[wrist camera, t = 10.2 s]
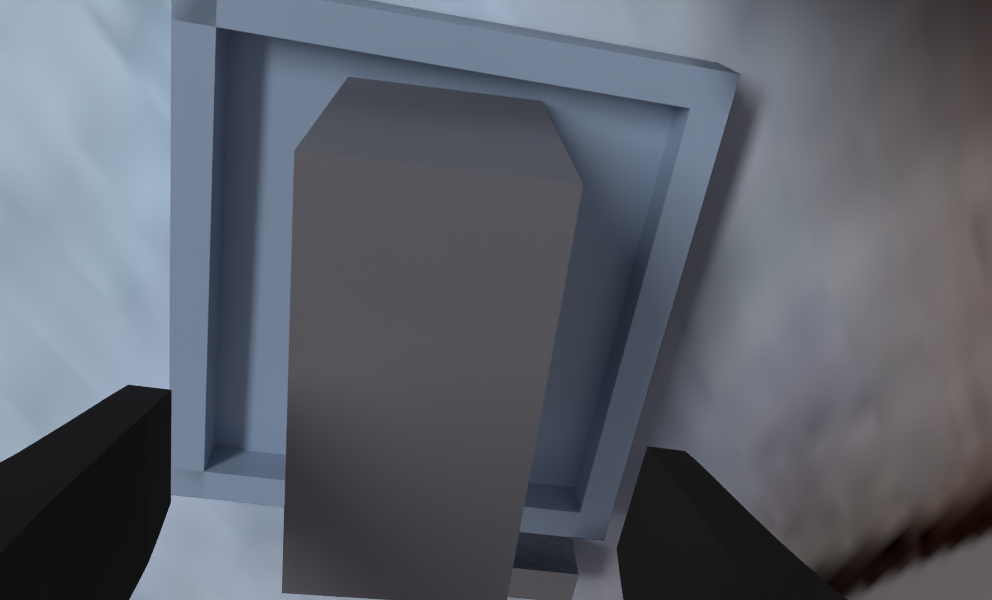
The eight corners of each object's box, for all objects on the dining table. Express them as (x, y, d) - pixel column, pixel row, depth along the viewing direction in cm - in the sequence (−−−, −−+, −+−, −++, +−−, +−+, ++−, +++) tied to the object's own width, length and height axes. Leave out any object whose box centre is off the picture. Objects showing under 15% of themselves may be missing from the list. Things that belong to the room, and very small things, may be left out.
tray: (188, 457, 21) (169, 494, 19) (196, -31, 16) (171, -27, 14) (594, 502, 22) (603, 540, 20) (717, 62, 17) (740, 74, 16)
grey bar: (330, 408, 20) (281, 593, 14) (348, 76, 16) (294, 151, 11) (492, 422, 20) (505, 607, 14) (541, 100, 17) (582, 183, 11)
